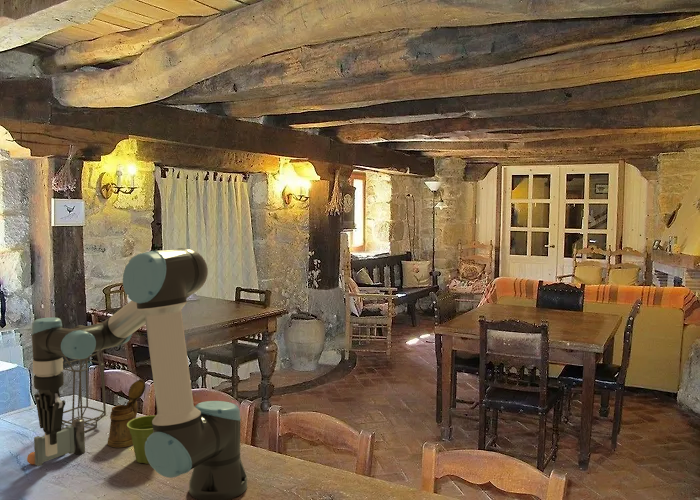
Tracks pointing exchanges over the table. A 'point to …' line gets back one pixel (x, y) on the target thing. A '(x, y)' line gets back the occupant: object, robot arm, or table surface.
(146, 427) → the plant pot
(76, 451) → the hinge post
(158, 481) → the table surface
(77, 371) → the geometric lantern
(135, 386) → the wooden mug
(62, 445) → the grey-green flanged panel
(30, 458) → the ball
